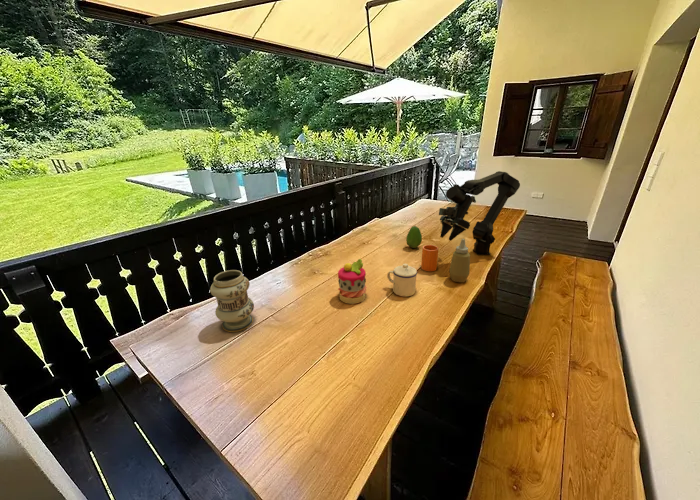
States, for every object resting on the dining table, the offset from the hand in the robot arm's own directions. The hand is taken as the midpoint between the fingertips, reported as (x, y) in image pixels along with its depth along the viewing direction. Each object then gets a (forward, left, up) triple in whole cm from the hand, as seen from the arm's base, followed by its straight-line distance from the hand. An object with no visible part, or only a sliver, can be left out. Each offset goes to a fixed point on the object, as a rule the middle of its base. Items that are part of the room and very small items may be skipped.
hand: (445, 238), depth 136 cm
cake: (+42, +30, -12) cm, 53 cm away
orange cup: (+8, +5, -12) cm, 15 cm away
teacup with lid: (+23, +25, -12) cm, 36 cm away
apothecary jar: (+80, +47, -12) cm, 93 cm away
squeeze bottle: (-2, +16, -12) cm, 21 cm away
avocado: (+11, -20, -12) cm, 26 cm away
